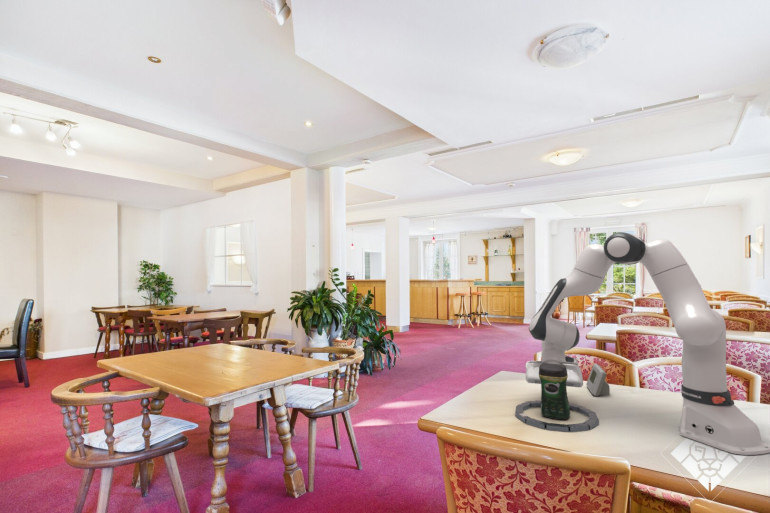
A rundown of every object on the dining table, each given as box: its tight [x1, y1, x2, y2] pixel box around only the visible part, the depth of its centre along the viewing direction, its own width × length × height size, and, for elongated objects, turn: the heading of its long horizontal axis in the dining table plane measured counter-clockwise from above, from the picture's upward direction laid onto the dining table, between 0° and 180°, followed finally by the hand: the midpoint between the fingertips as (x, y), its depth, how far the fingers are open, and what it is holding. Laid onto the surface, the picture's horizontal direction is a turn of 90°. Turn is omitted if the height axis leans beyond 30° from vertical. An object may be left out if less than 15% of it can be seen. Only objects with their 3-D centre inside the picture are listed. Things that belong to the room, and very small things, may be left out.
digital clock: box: [586, 363, 611, 397], centre depth 171 cm, size 16×9×11 cm, turn 151°
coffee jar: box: [539, 363, 571, 420], centre depth 144 cm, size 10×8×19 cm
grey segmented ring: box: [514, 399, 600, 433], centre depth 143 cm, size 27×27×2 cm
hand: (553, 394), depth 148 cm, fingers closed
